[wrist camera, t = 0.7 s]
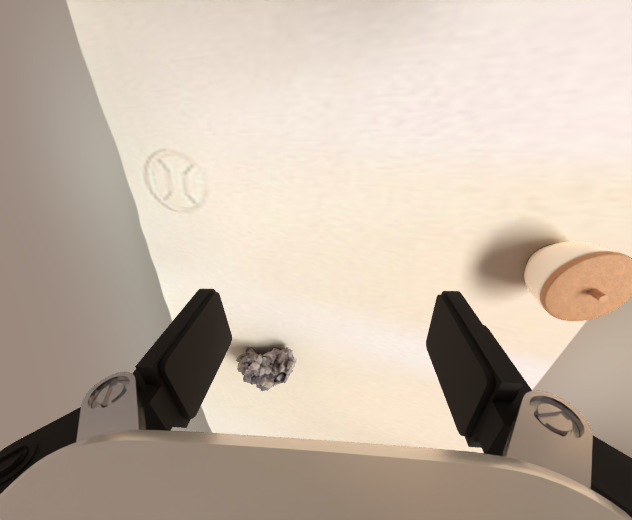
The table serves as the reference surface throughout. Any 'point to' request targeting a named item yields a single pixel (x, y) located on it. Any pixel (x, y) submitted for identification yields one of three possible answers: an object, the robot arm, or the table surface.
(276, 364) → the mineral specimen
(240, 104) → the table surface
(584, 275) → the lidded jar
